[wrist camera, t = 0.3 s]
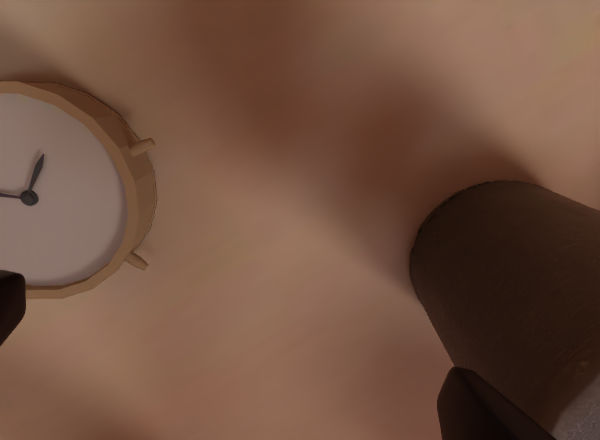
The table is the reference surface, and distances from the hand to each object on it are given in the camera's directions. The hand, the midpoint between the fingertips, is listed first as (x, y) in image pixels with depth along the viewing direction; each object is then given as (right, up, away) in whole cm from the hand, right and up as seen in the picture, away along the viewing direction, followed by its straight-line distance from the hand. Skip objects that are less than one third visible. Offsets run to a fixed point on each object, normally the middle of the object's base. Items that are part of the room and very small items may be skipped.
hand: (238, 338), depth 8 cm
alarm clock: (-14, +5, +15) cm, 21 cm away
